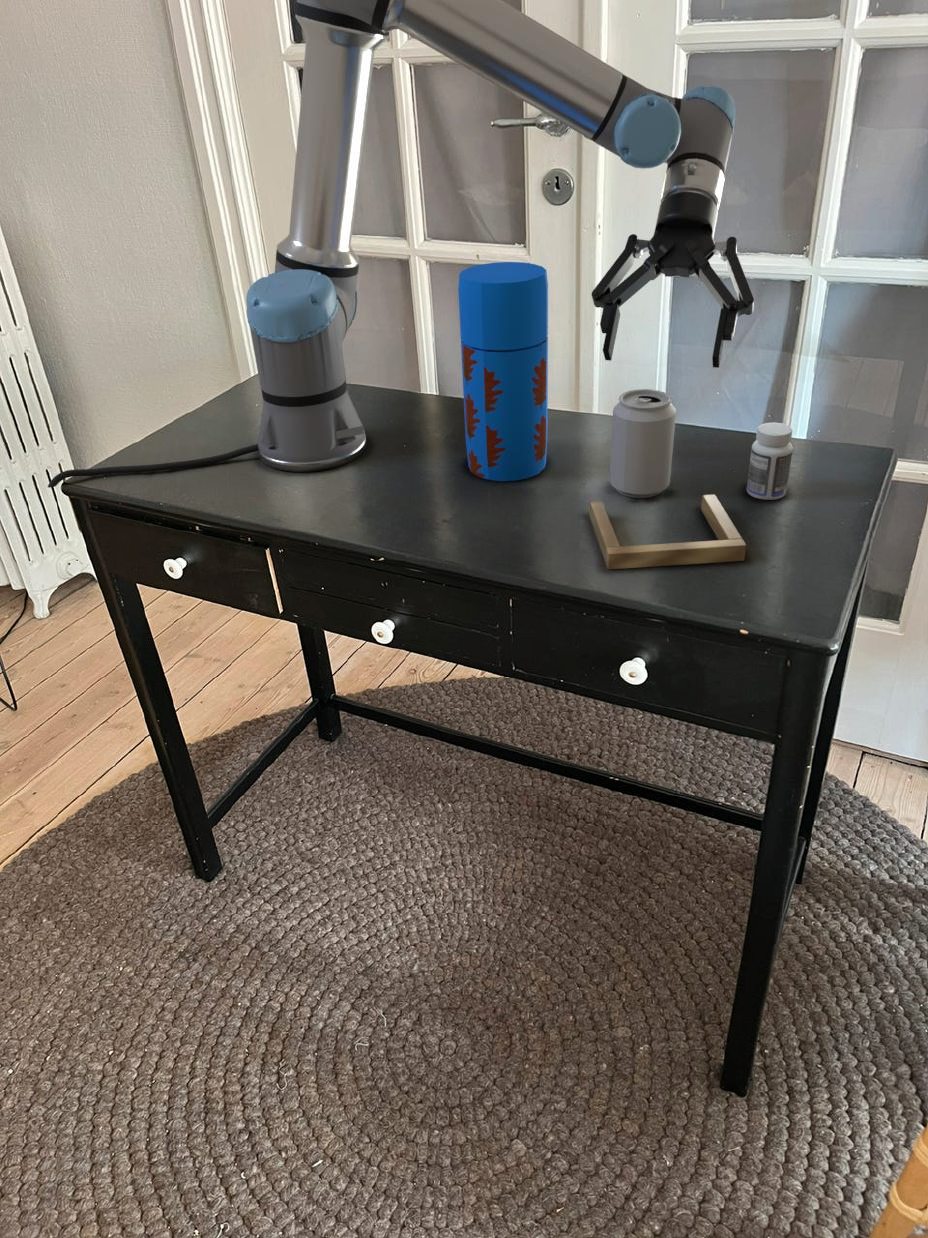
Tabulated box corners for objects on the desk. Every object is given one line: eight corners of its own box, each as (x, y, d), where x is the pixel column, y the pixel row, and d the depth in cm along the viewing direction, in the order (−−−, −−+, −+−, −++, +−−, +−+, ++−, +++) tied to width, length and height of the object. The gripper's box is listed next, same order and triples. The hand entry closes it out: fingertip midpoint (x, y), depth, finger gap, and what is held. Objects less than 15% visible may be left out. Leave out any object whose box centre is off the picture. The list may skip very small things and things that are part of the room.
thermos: (528, 443, 130) (526, 257, 116) (560, 472, 121) (563, 275, 107) (456, 457, 127) (445, 268, 113) (483, 487, 118) (476, 288, 104)
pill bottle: (781, 484, 115) (791, 420, 111) (789, 501, 111) (799, 436, 107) (743, 484, 116) (751, 420, 111) (748, 500, 112) (757, 436, 107)
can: (680, 484, 116) (689, 393, 110) (648, 506, 112) (655, 412, 105) (630, 470, 121) (635, 381, 114) (597, 490, 116) (601, 399, 110)
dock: (607, 569, 100) (608, 553, 99) (589, 516, 110) (589, 501, 109) (744, 561, 100) (746, 545, 99) (713, 509, 111) (714, 494, 110)
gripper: (590, 187, 119) (558, 338, 116) (792, 189, 111) (764, 350, 108) (598, 223, 126) (568, 365, 123) (788, 226, 118) (762, 379, 115)
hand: (660, 359), depth 115 cm, fingers open, 13 cm apart
